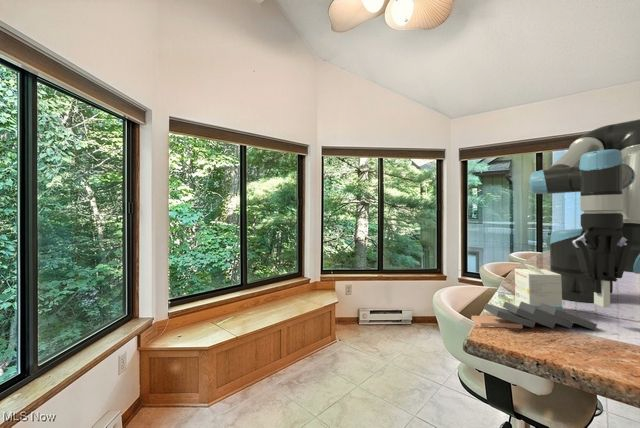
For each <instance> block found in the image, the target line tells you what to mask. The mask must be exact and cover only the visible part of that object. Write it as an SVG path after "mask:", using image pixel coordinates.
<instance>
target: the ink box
mask: <svg viewBox="0 0 640 428" xmlns="http://www.w3.org/2000/svg"><path fill="white" fill-rule="evenodd" d="M524 266H526V268H514V292H515V294H514V297H515V298H514V300H515V301H514V302H515V303H514V305H516V306H518V307H519V305H520V303H521V301H522V302H525V303H527V304H530V305H532V306H535V307H537V308H540V306H541V303H544V304H546V305H549V306H552V307H555V308H557V309H560V310H563V299H562V283H561V275H560V274H557V273H554V272H551V271H550V270H548V269H546V268H545V269H544V268H543V269H542V268H538V267H537V266H534V265H531V264H527V263H524Z"/></svg>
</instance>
